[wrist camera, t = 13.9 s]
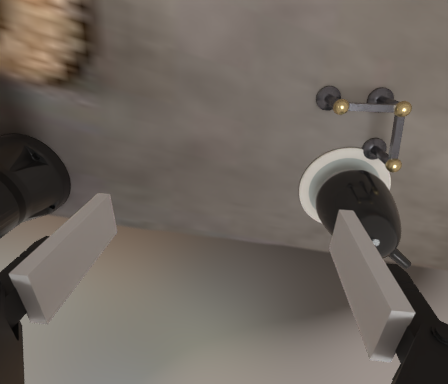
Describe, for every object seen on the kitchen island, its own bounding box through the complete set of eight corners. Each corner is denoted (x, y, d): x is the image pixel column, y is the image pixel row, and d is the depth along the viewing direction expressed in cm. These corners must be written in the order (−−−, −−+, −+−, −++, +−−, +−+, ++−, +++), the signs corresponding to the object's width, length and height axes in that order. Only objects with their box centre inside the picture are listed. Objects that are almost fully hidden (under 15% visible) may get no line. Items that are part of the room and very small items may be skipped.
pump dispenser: (343, 227, 47) (378, 297, 34) (297, 195, 46) (315, 255, 32) (392, 185, 43) (454, 246, 30) (343, 147, 41) (386, 194, 28)
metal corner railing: (306, 155, 43) (316, 175, 36) (318, 85, 38) (331, 93, 31) (381, 158, 42) (405, 180, 35) (402, 88, 37) (435, 96, 30)
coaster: (293, 221, 49) (293, 223, 48) (305, 145, 42) (306, 146, 42) (375, 227, 48) (377, 229, 47) (400, 149, 41) (403, 151, 41)
